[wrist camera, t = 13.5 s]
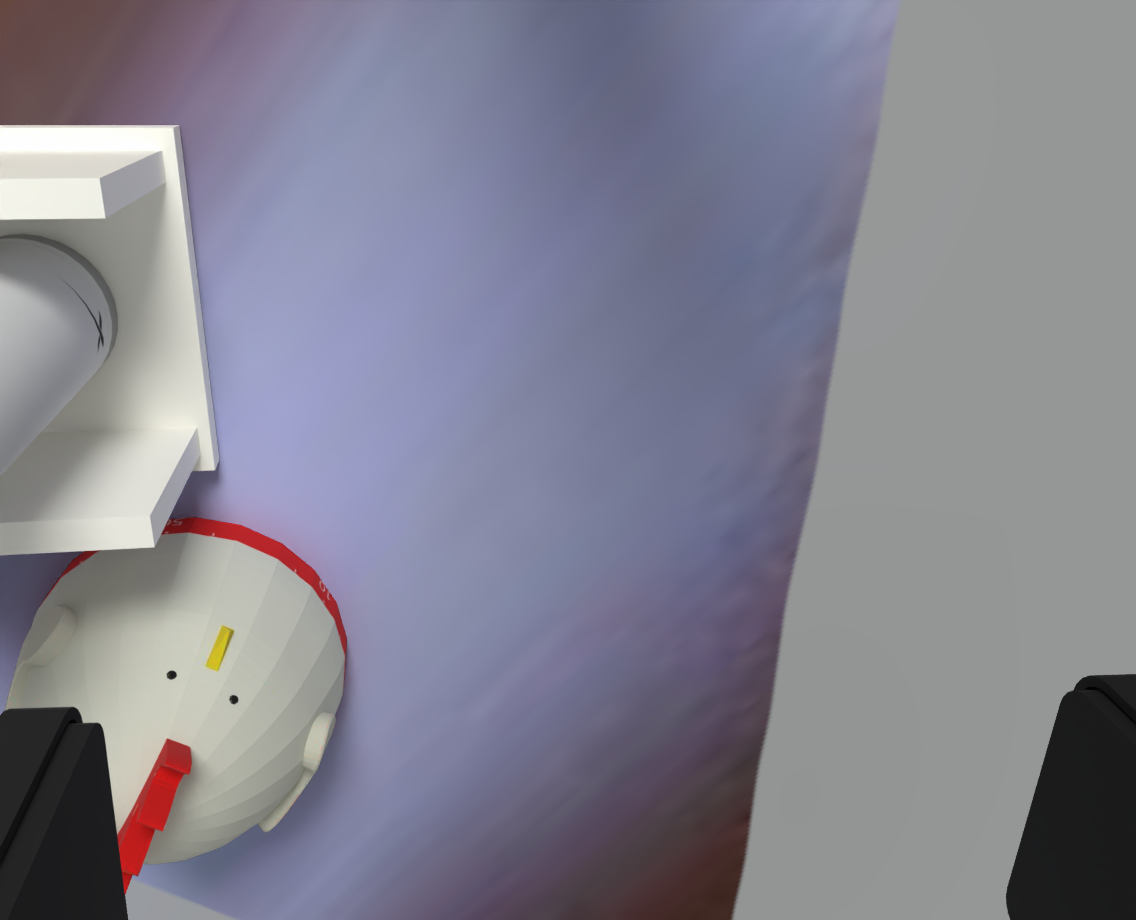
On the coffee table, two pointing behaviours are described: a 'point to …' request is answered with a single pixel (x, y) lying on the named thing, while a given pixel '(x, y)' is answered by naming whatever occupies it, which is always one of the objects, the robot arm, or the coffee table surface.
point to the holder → (142, 348)
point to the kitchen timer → (192, 681)
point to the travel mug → (47, 334)
